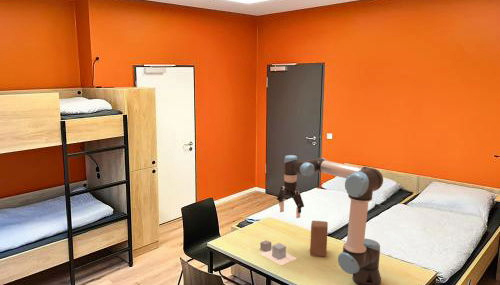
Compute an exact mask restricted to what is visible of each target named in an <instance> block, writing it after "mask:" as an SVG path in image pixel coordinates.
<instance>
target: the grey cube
mask: <svg viewBox="0 0 500 285" xmlns="http://www.w3.org/2000/svg"><path fill="white" fill-rule="evenodd" d="M259 244H260V251H262V252H264V251H265V252H267V251H270V250H272V241H269V240H264V241H261V242H260V243H259Z"/></svg>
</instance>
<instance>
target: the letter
mask: <svg viewBox="0 0 500 285" xmlns="http://www.w3.org/2000/svg"><path fill="white" fill-rule="evenodd" d="M258 254H259V255H260V256H262V257H264V258H266V259H268V260H270V261H272V262H274V263H276V264H277V265H279V266H283V265H286V264H288V263H290V262H293V261H295V260H297V259H298V257H296V256H293V255H292V254H289V253H288V252H286V257H284V258H282V259H279V260H278V259H277V258H275V257H273V256H272V250H270V251H267V252H265V251H261V252H259V253H258Z"/></svg>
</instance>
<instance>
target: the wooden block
mask: <svg viewBox="0 0 500 285" xmlns="http://www.w3.org/2000/svg"><path fill="white" fill-rule="evenodd" d="M328 226H329V224H328V221H324V220H322V221H321V220H311V225H310V243H309V244H310V246H309V247H310V248H309V251H310V252H309V255H310V256H315V257H323V258H326V256H327V248H328V245H327V244H328Z"/></svg>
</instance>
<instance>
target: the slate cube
mask: <svg viewBox="0 0 500 285" xmlns="http://www.w3.org/2000/svg"><path fill="white" fill-rule="evenodd" d="M271 247H272V256H273V257H275V258H277V259H278V260H279V259H282V258H284V257H286V253H287V246H286V245H285V244H283V243H281V242H278V243H275V244H271Z"/></svg>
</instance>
